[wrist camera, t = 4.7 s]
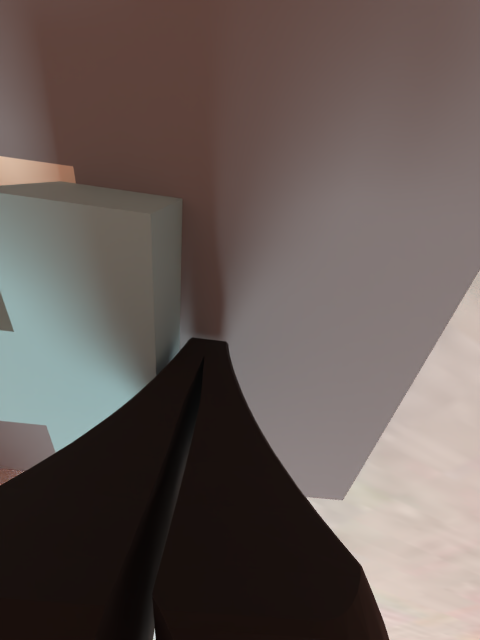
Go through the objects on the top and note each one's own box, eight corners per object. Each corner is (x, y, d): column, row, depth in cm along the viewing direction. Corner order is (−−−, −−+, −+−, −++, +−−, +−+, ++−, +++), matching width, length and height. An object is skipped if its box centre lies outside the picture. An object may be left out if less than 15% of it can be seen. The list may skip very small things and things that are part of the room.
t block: (177, 425, 13) (160, 492, 10) (-29, 404, 12) (-103, 467, 10) (182, 198, 8) (150, 213, 5) (-161, 150, 7) (-383, 140, 5)
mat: (340, 491, 16) (342, 500, 16) (-113, 448, 15) (-124, 457, 15) (604, 25, 6) (631, 14, 6) (-657, -201, 5) (-740, -235, 5)
